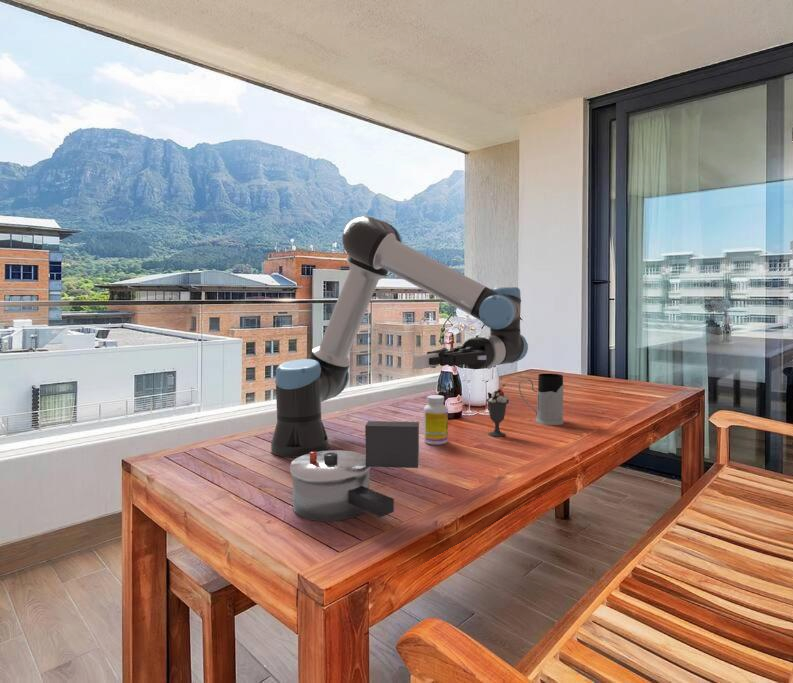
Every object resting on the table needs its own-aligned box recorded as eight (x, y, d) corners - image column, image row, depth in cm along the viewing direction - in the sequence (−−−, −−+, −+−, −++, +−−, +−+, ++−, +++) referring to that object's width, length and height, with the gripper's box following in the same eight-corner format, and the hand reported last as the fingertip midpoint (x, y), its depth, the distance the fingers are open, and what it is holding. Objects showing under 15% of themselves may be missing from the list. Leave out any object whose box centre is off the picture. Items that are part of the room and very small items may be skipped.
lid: (279, 482, 93) (277, 433, 92) (303, 455, 108) (302, 412, 107) (416, 486, 90) (416, 435, 90) (420, 457, 106) (420, 414, 105)
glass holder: (563, 426, 157) (564, 378, 156) (516, 422, 162) (517, 375, 161) (564, 419, 166) (565, 373, 164) (519, 416, 170) (520, 371, 169)
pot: (270, 500, 103) (269, 466, 102) (330, 480, 113) (329, 450, 113) (354, 546, 84) (353, 505, 83) (416, 517, 94) (416, 481, 94)
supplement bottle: (450, 444, 139) (450, 398, 138) (426, 446, 138) (426, 399, 137) (444, 438, 146) (444, 393, 144) (421, 439, 145) (421, 394, 143)
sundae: (511, 437, 146) (512, 385, 144) (488, 438, 145) (489, 386, 144) (505, 431, 152) (505, 381, 151) (483, 431, 152) (483, 382, 150)
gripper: (505, 370, 119) (439, 384, 102) (461, 365, 128) (394, 377, 112) (505, 338, 118) (439, 346, 102) (461, 335, 127) (393, 343, 111)
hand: (415, 362), depth 107 cm, fingers closed
